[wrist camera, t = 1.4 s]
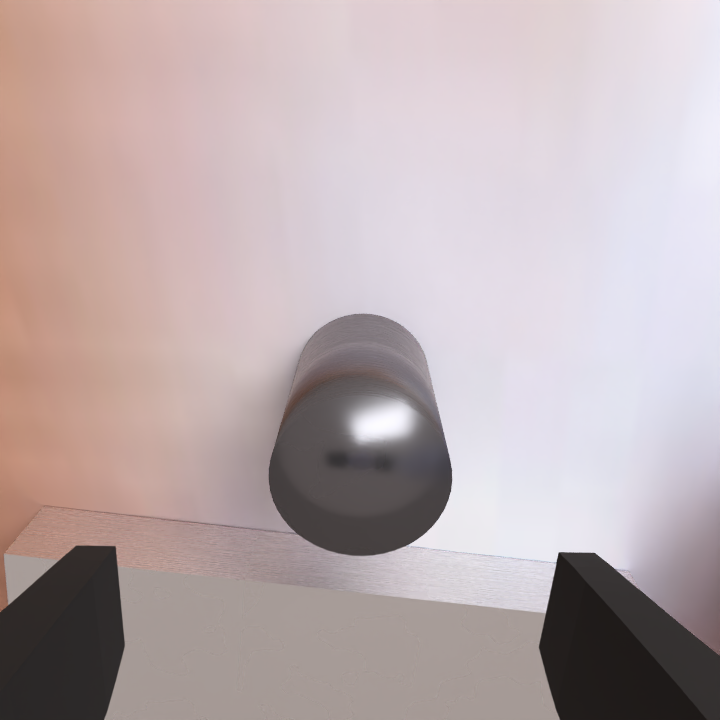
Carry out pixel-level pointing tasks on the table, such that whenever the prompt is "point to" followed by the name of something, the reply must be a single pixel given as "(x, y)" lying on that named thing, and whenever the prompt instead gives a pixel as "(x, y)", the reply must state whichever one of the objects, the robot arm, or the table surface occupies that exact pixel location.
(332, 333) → the cylinder
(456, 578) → the plate
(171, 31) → the table surface
